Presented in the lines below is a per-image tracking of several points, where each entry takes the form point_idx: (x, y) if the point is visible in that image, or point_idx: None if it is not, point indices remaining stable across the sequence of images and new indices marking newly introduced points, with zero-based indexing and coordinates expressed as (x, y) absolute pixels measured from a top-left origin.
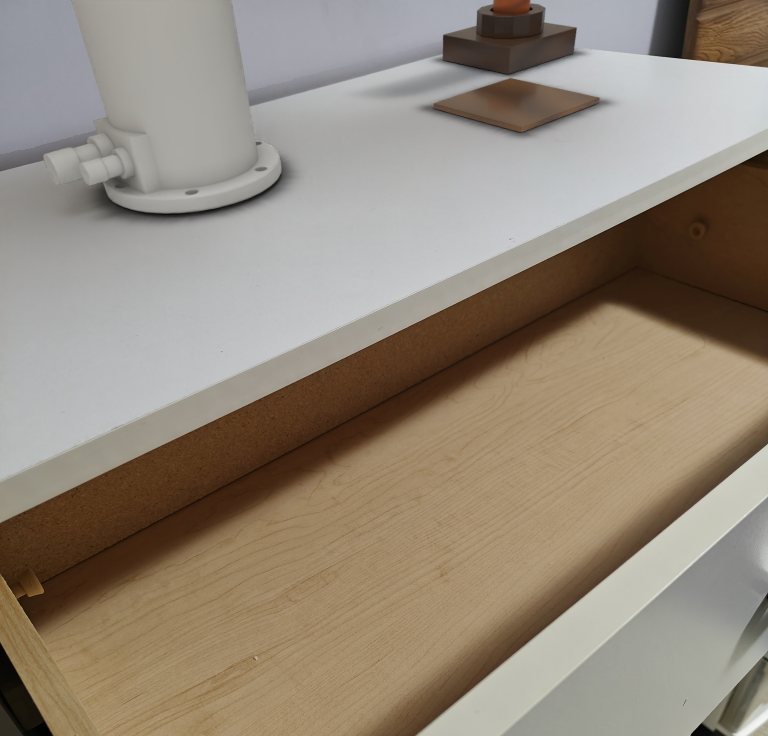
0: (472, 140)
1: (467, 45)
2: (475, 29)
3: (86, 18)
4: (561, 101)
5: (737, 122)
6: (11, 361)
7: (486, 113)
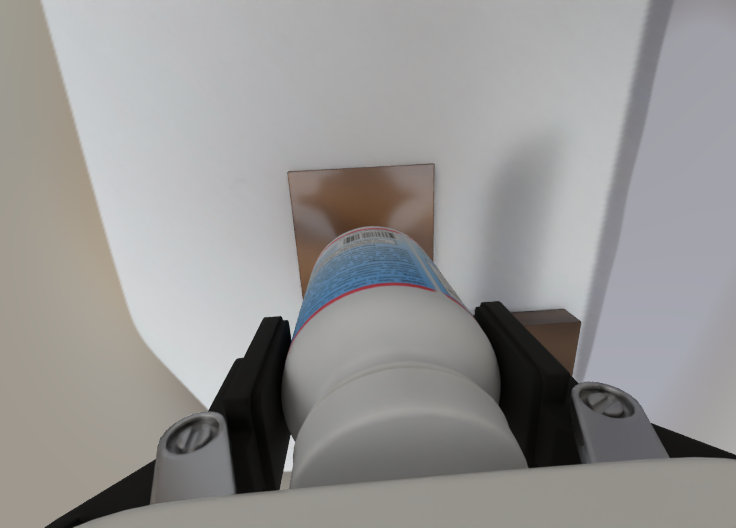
0: (309, 112)
1: (533, 321)
2: (560, 362)
3: None
4: None
5: (167, 342)
6: None
7: (353, 179)
